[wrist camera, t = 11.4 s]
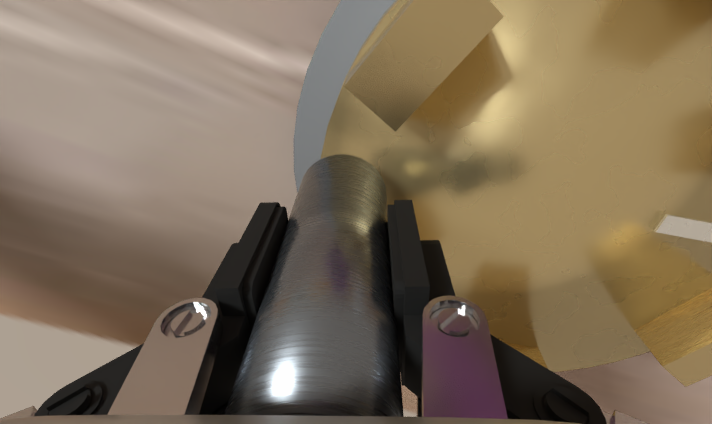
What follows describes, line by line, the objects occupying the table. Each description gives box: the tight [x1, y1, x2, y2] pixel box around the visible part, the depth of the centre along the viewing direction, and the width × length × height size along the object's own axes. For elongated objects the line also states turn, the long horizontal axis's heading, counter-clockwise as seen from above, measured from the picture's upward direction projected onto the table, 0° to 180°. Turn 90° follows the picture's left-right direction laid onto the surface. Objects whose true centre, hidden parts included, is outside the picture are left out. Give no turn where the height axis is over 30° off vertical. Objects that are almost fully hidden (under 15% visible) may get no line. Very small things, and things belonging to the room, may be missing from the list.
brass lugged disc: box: [321, 0, 712, 387], centre depth 14 cm, size 20×20×4 cm
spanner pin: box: [224, 154, 403, 417], centre depth 9 cm, size 3×3×10 cm
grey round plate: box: [294, 0, 395, 192], centre depth 18 cm, size 23×23×3 cm
